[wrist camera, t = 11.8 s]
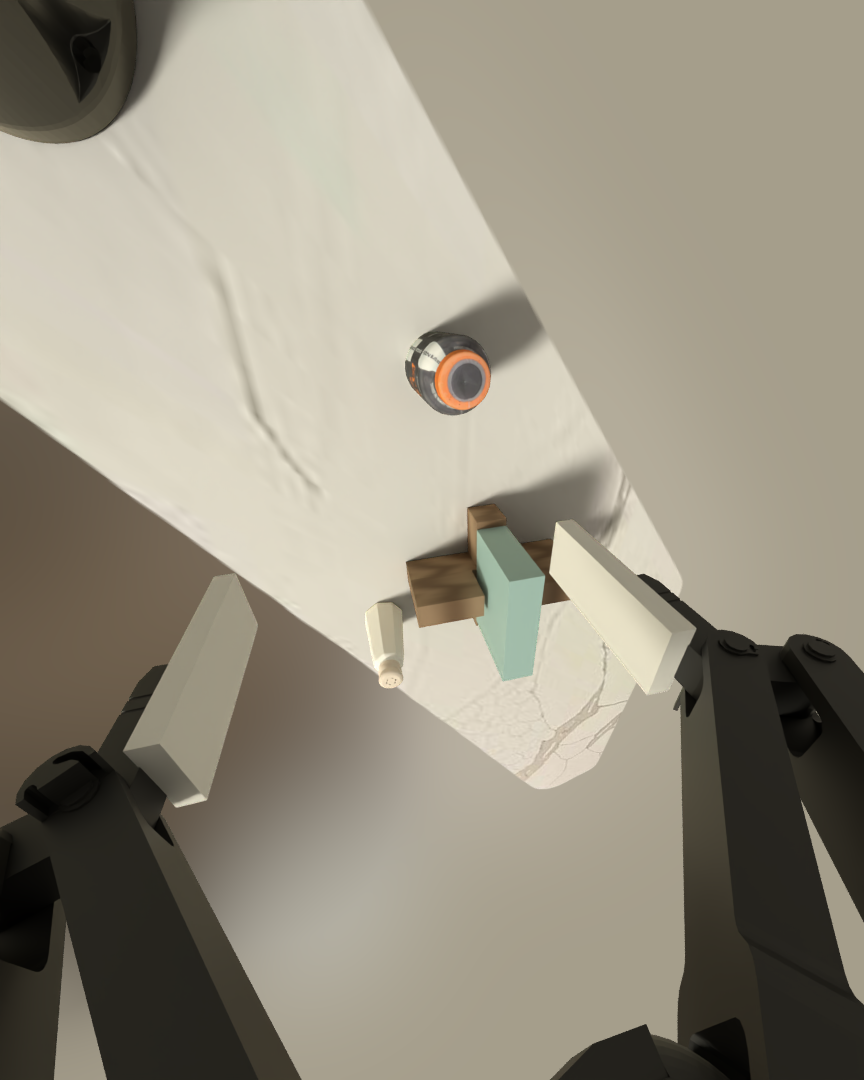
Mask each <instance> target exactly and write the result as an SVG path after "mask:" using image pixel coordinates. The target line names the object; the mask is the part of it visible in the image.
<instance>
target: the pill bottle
mask: <svg viewBox="0 0 864 1080" xmlns="http://www.w3.org/2000/svg"><path fill="white" fill-rule="evenodd" d="M405 370H406V376H407V379H408V381H409V383H410V385H411V387H412V388H413V389H414V390H415V391H416V392H417V393H418V394H419V395H420V396H421V397H422V398H423V399H424V400H425V401H426V402H427V403H428V404H429V405H430V406H431V407H432V408H433V409H434V410H436V411H438V412H440V413H442V414H446V415H460V414H464V413H466V412H469V411H470V410H472V409H473V408H475V407H476V406H477V405H478V404H479V403H480V402H481V401H482V400H483V399H484V398H485V396H486V394H487V392H488V389H489V387H490V378H491V369H490V363H489V359H488V357H487V354H486V353H485V351H484V349H483V348H482V347H481V345H480V344H478V343H477V342H476V341H475V340H473V339H472V338H470V337H467V336H465V335H458V334H450V333H443V332H430V333H427V334H424V335H422V336H421V337H419V338H418V339H417V340H416V341H415V342H414V343H413V344H412V346H411V347H410V349H409V351H408V354H407V357H406V361H405Z"/></svg>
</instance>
